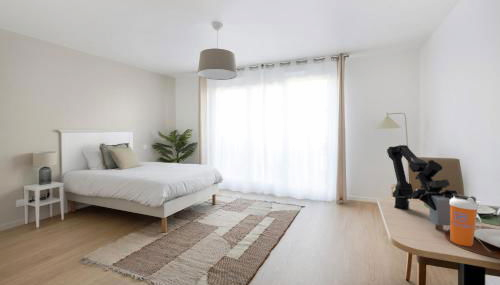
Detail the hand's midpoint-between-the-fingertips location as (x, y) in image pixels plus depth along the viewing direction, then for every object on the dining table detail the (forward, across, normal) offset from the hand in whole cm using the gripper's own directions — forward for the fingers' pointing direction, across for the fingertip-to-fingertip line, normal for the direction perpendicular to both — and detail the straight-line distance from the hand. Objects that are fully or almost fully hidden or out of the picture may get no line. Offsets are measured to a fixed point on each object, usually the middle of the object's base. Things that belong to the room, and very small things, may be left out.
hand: (442, 210), depth 110 cm
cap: (+4, 0, +6) cm, 7 cm away
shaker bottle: (+16, -1, -2) cm, 16 cm away
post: (+6, 0, +8) cm, 10 cm away
